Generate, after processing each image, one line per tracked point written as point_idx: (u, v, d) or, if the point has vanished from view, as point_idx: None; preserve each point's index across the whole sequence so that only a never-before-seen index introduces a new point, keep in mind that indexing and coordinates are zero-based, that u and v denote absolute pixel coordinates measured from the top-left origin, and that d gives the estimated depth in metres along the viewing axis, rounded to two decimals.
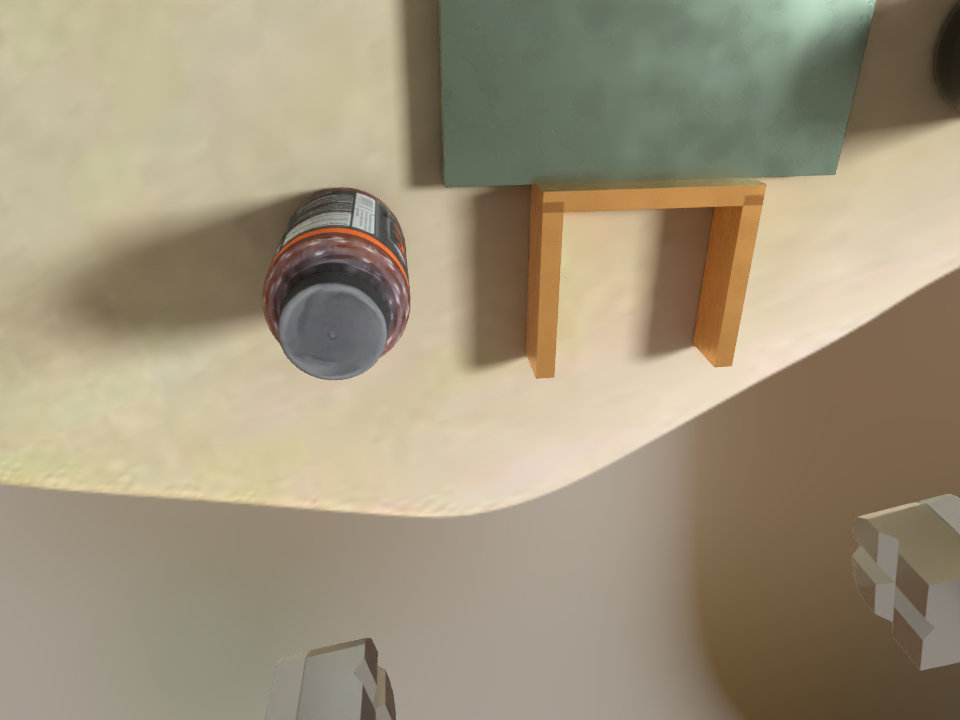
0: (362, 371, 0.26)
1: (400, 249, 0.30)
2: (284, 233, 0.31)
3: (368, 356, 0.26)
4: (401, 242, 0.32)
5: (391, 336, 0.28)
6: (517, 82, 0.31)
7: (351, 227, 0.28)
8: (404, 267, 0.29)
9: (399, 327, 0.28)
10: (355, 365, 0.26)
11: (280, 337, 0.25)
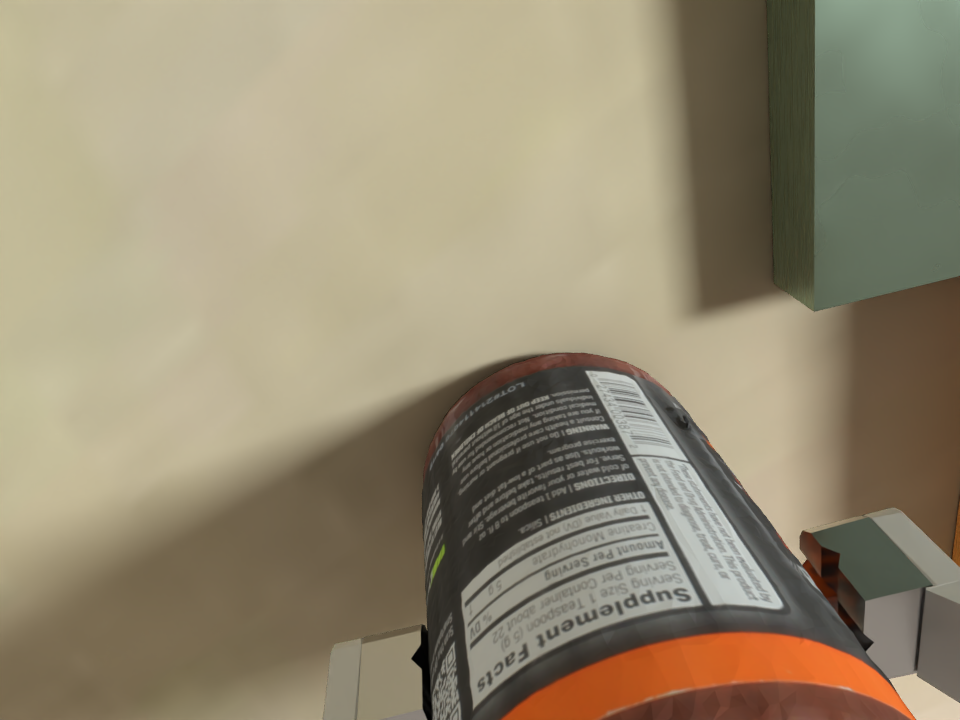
0: None
1: None
2: (435, 542, 0.11)
3: None
4: None
5: None
6: None
7: (714, 611, 0.07)
8: (873, 663, 0.09)
9: None
10: None
11: None
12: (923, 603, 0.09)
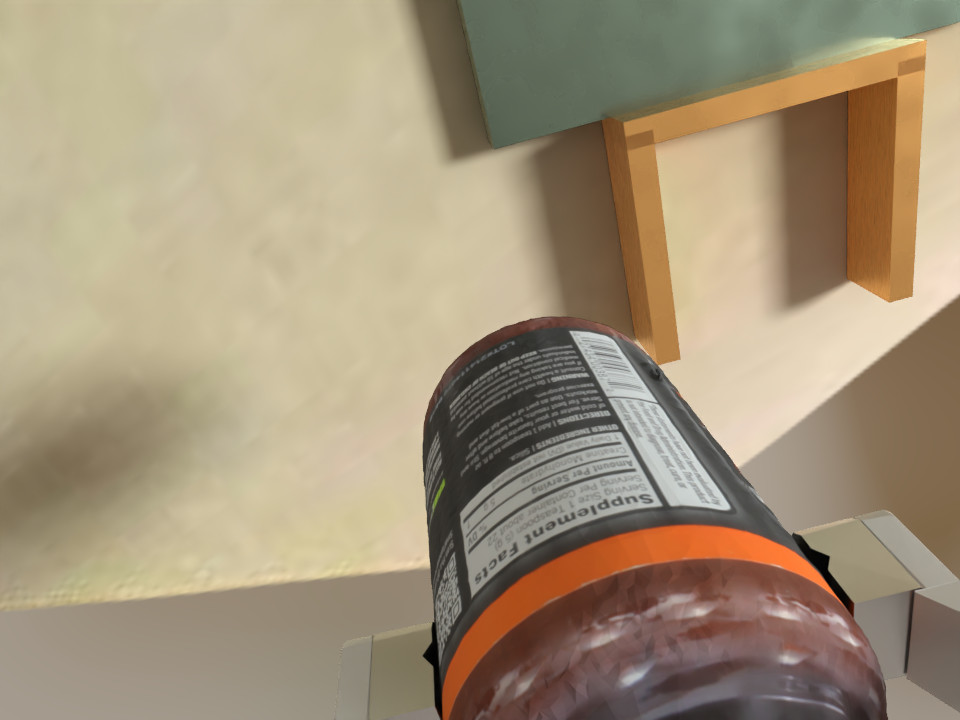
0: None
1: None
2: (436, 478, 0.13)
3: None
4: None
5: None
6: None
7: (671, 510, 0.09)
8: (810, 563, 0.10)
9: None
10: None
11: None
12: (912, 606, 0.09)
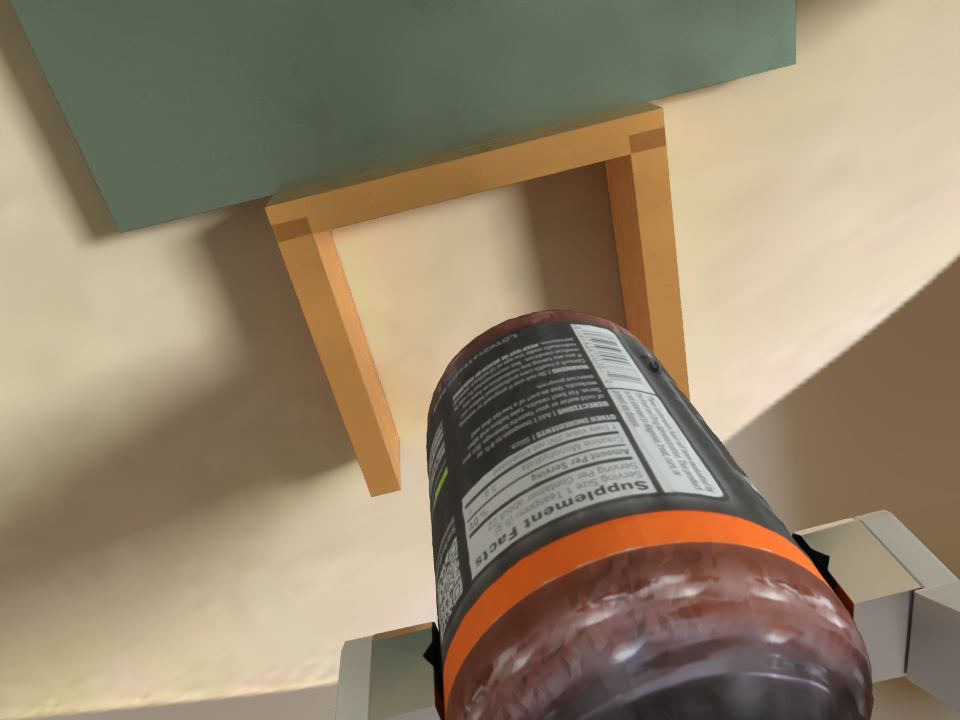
0: None
1: None
2: (439, 467, 0.13)
3: None
4: None
5: None
6: (167, 28, 0.18)
7: (665, 496, 0.09)
8: (801, 550, 0.10)
9: None
10: None
11: None
12: (912, 606, 0.09)
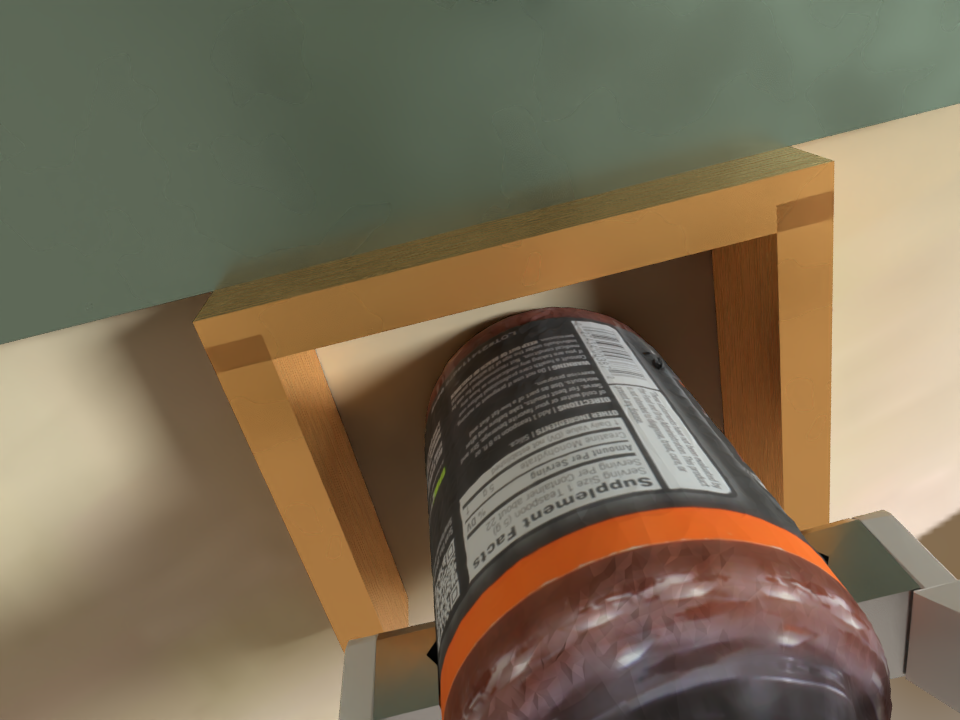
0: None
1: None
2: (437, 468, 0.13)
3: None
4: None
5: None
6: (28, 36, 0.11)
7: (671, 493, 0.09)
8: None
9: None
10: None
11: None
12: (911, 606, 0.09)
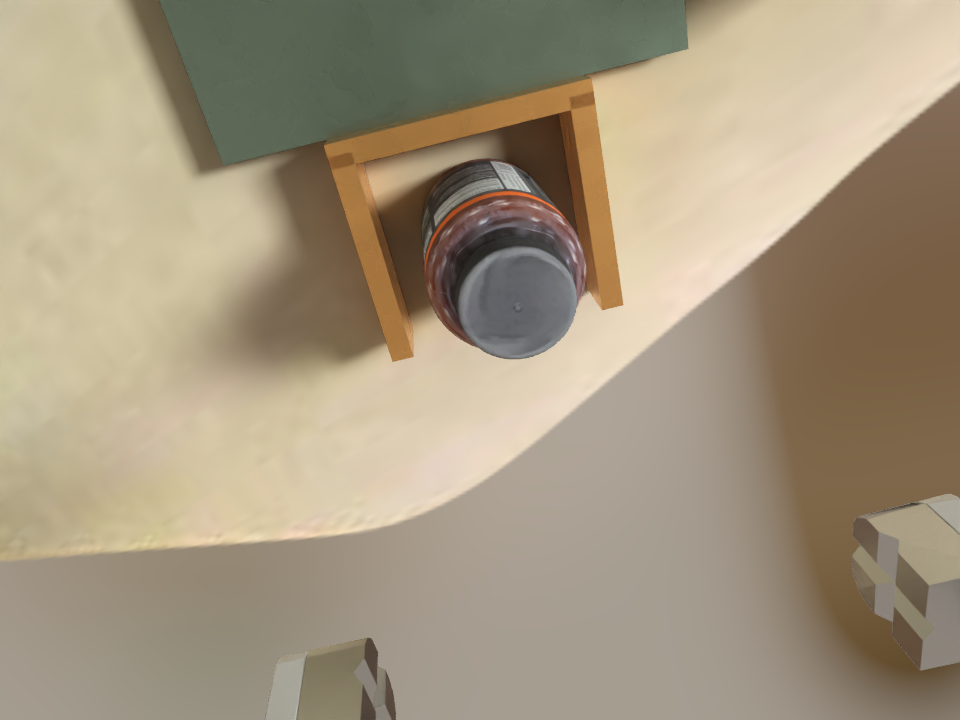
0: (555, 342, 0.23)
1: None
2: (426, 218, 0.29)
3: (559, 324, 0.23)
4: None
5: None
6: (261, 25, 0.27)
7: (507, 189, 0.25)
8: None
9: (579, 289, 0.25)
10: (546, 337, 0.23)
11: (462, 320, 0.23)
12: None
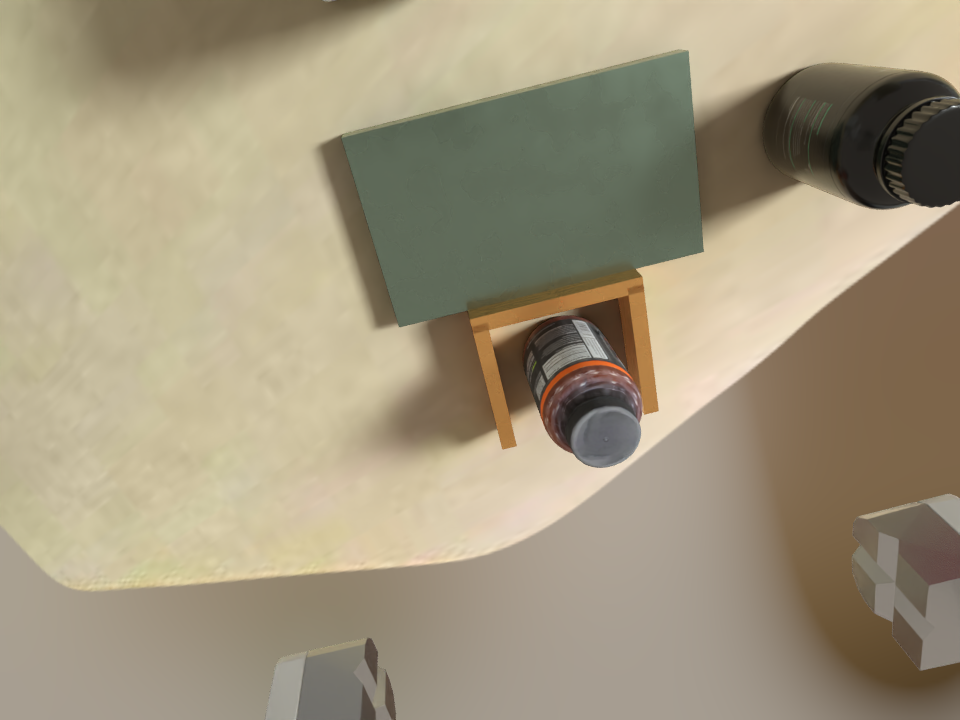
0: (626, 458, 0.38)
1: (619, 360, 0.43)
2: (532, 362, 0.44)
3: (630, 447, 0.38)
4: None
5: None
6: (432, 246, 0.42)
7: (593, 358, 0.40)
8: (630, 375, 0.41)
9: (638, 419, 0.40)
10: (622, 455, 0.38)
11: (572, 447, 0.38)
12: None
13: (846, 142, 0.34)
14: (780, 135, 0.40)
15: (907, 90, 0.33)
